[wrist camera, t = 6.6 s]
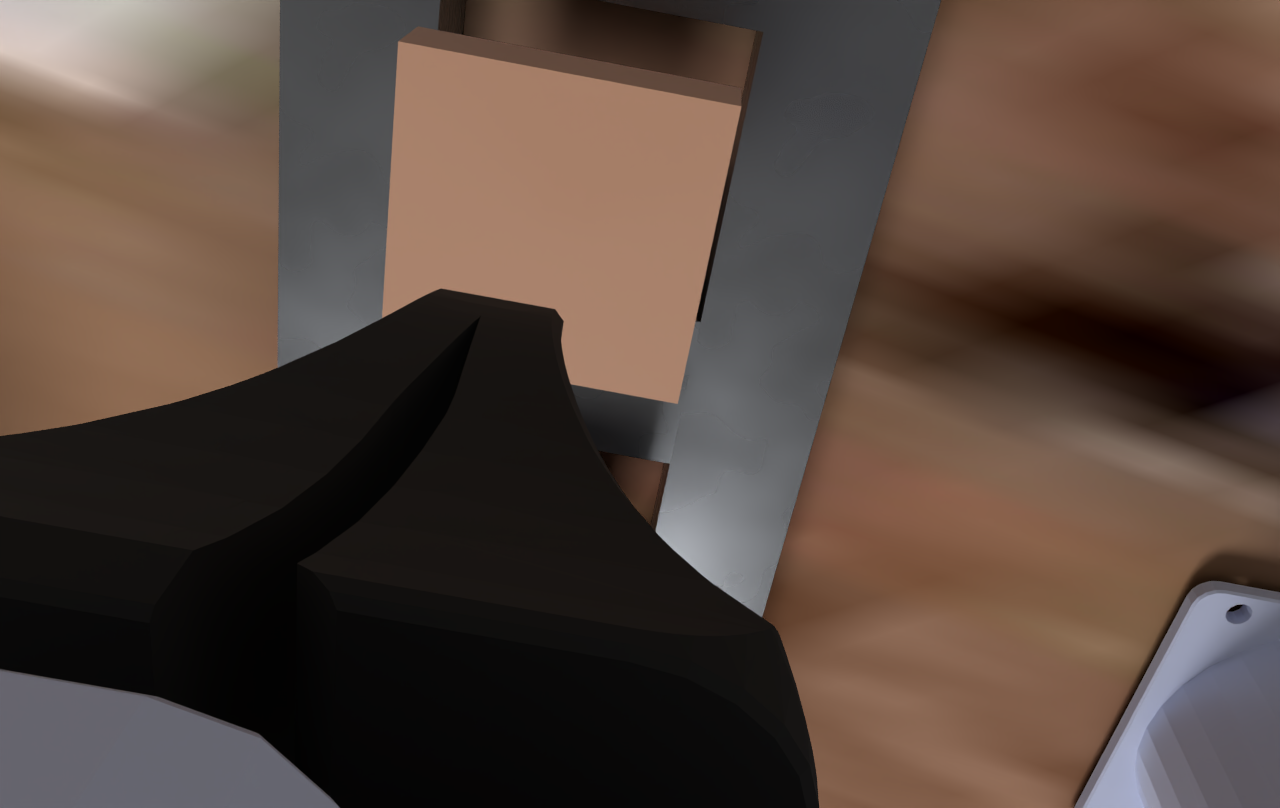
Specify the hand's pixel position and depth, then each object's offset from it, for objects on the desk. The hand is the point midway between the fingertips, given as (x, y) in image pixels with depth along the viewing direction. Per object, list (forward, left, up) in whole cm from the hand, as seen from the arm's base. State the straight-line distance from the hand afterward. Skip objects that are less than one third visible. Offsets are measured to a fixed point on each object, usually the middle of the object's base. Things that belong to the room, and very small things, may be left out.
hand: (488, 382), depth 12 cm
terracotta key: (0, 0, -7) cm, 7 cm away
